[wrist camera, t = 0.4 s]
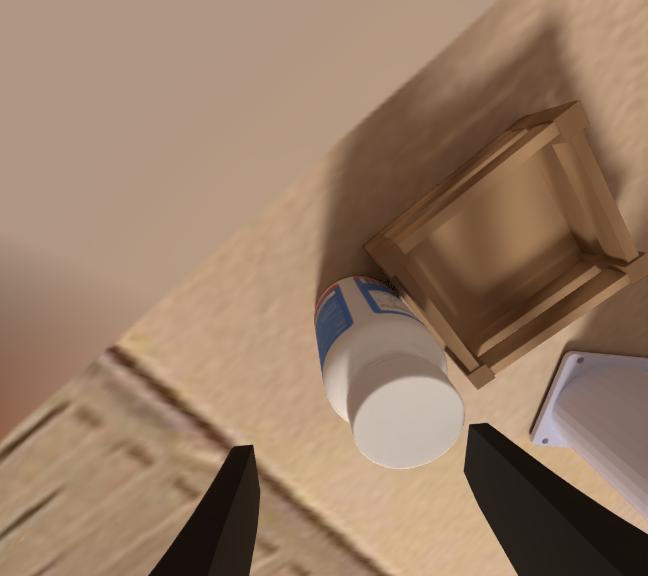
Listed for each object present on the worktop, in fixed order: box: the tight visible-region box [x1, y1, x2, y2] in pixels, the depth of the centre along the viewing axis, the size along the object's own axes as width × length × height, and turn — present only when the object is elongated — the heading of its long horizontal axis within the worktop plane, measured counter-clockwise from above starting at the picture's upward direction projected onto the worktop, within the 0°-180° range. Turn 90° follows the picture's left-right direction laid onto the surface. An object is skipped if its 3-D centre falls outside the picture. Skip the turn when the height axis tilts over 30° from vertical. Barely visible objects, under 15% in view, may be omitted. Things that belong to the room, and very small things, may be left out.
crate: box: [363, 100, 648, 390], centre depth 18 cm, size 11×10×4 cm
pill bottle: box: [314, 276, 465, 469], centre depth 15 cm, size 6×5×10 cm
